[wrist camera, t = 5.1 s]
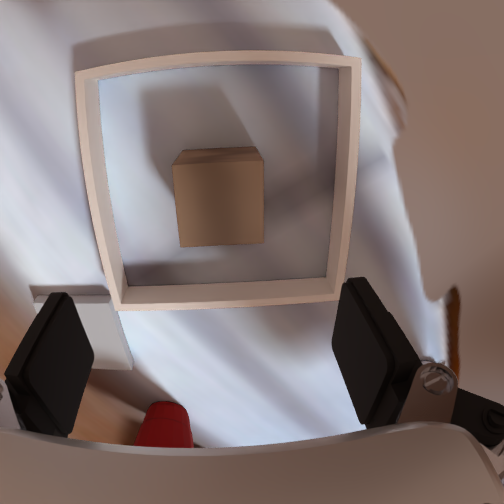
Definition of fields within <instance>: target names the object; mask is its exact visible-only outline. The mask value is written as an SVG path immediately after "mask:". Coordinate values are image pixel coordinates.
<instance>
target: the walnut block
mask: <svg viewBox="0 0 504 504" xmlns="http://www.w3.org/2000/svg"><path fill="white" fill-rule="evenodd" d="M172 173H173V184H174V194H175V204H176V213H177V222H178V231H179V239H180V247H198V246H217V245H237V244H257V243H264V161H263V159H262V157H261V155H260V154H259V152H258V150H257V148H256V147H230V148H210V149H194V150H183V151H182V152H181V154H180V155H179V156H178V158H177V159H176V160H175V162H174V163H173V165H172Z"/></svg>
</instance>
